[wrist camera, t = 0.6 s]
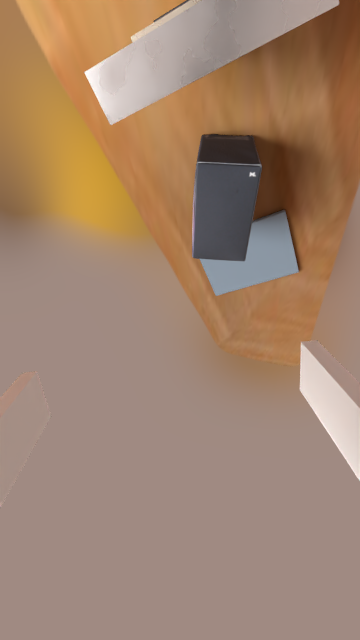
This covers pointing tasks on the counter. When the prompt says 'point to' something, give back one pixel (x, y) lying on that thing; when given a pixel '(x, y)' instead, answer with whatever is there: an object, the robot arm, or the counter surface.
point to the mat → (256, 257)
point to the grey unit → (191, 48)
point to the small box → (224, 196)
